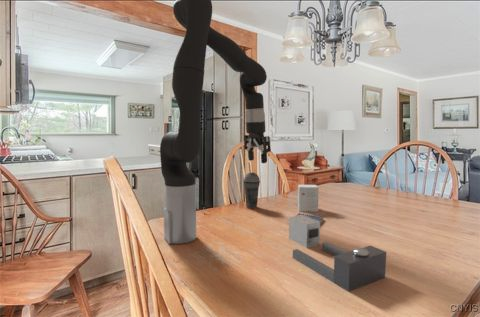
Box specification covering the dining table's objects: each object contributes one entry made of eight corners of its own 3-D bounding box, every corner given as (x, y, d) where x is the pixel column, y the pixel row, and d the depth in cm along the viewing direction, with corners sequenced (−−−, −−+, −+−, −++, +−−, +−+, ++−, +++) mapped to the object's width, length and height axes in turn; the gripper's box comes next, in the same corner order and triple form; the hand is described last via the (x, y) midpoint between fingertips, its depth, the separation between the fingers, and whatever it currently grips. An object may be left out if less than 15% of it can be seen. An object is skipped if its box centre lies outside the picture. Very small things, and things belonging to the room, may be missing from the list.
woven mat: (325, 221, 105) (325, 216, 104) (317, 229, 95) (317, 223, 95) (298, 217, 110) (298, 212, 110) (288, 224, 101) (288, 219, 101)
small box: (316, 208, 121) (316, 184, 120) (318, 212, 115) (318, 187, 114) (297, 207, 122) (297, 184, 121) (298, 211, 116) (299, 186, 115)
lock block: (307, 248, 79) (307, 224, 78) (288, 238, 86) (289, 216, 85) (320, 245, 81) (320, 222, 80) (301, 235, 88) (301, 214, 88)
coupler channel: (348, 291, 57) (349, 259, 56) (292, 257, 73) (293, 232, 72) (385, 277, 63) (386, 248, 62) (325, 248, 79) (326, 225, 78)
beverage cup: (260, 209, 119) (260, 163, 117) (243, 209, 119) (243, 163, 117) (259, 205, 126) (259, 161, 124) (243, 205, 126) (243, 161, 124)
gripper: (237, 121, 111) (239, 160, 114) (258, 121, 99) (261, 165, 102) (252, 120, 115) (254, 158, 118) (274, 119, 103) (276, 162, 106)
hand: (257, 161), depth 110 cm, fingers open, 8 cm apart
